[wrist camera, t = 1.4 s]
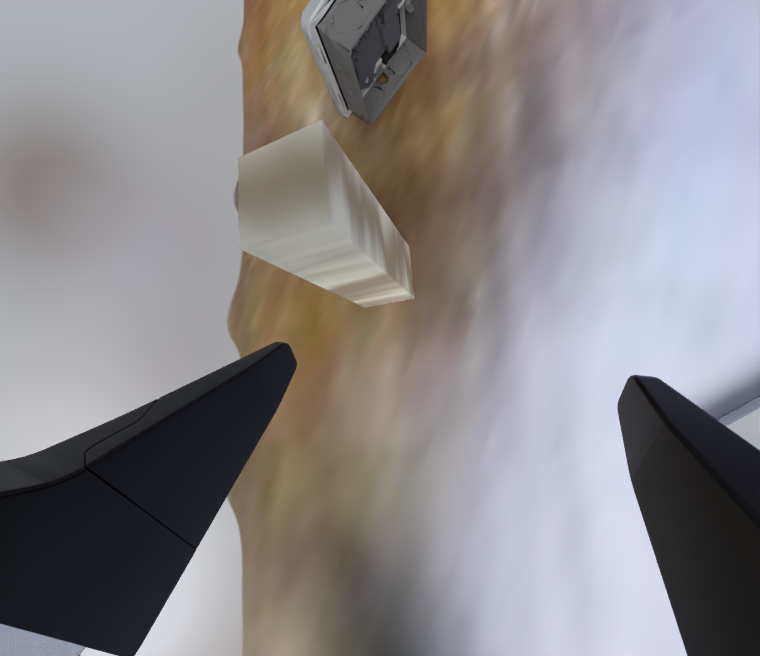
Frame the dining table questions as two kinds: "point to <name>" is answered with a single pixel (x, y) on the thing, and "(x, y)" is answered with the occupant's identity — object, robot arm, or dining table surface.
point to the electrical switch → (365, 49)
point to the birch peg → (321, 219)
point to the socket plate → (745, 422)
